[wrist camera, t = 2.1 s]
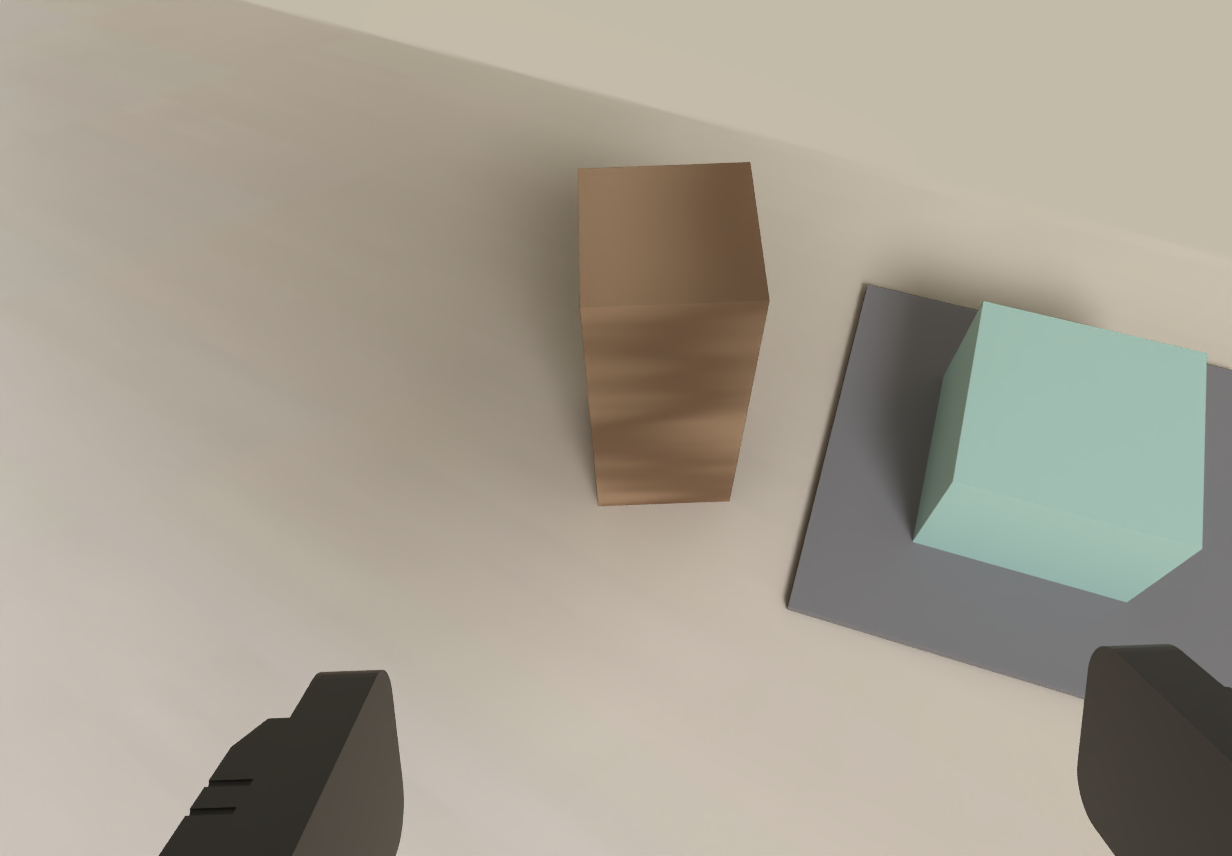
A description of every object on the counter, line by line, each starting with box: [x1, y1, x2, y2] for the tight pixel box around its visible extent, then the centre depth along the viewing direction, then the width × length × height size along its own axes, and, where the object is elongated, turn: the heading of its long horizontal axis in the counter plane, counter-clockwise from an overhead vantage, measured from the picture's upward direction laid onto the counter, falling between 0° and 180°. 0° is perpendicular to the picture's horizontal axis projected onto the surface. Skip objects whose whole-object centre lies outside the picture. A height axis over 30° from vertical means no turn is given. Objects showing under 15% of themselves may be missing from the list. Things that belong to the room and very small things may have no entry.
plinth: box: [913, 301, 1207, 602], centre depth 26 cm, size 6×6×4 cm
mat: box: [787, 284, 1232, 699], centre depth 28 cm, size 12×12×1 cm
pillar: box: [578, 162, 769, 506], centre depth 25 cm, size 4×4×10 cm
